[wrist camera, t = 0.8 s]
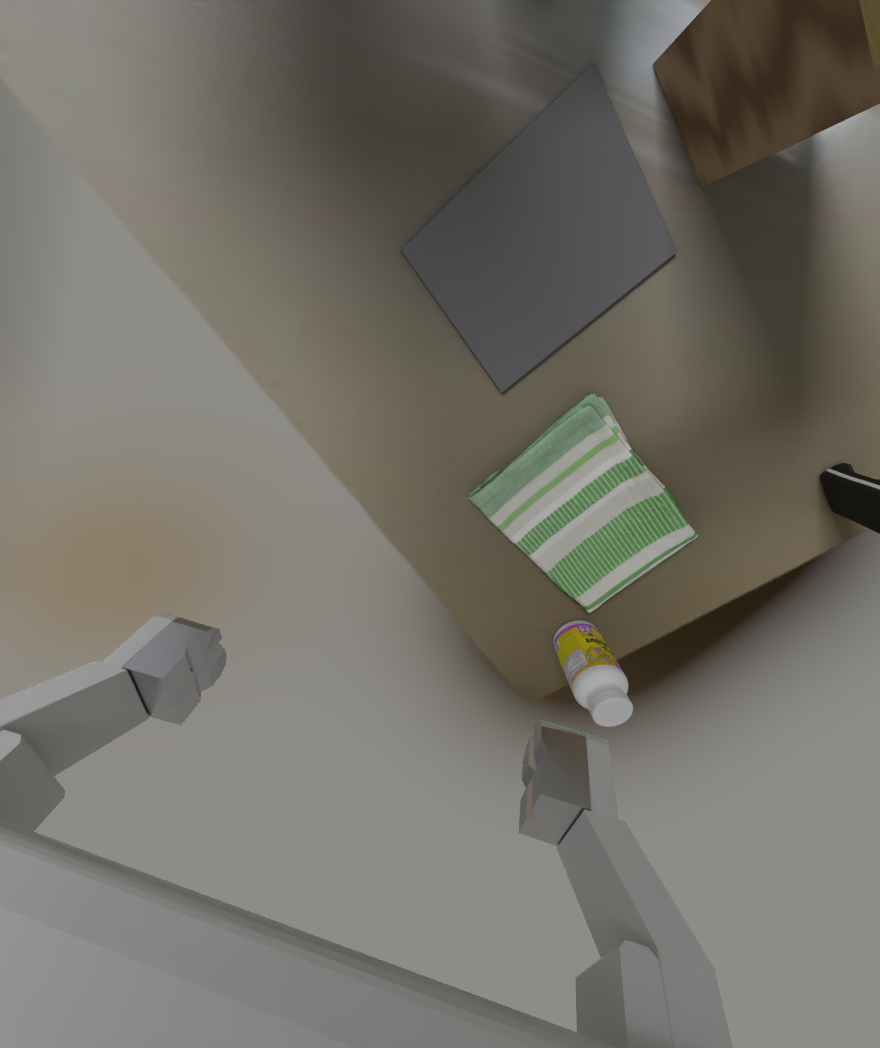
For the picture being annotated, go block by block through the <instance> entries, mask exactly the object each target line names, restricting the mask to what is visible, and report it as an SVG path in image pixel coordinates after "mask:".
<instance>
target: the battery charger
mask: <svg viewBox="0 0 880 1048" xmlns="http://www.w3.org/2000/svg"><path fill="white" fill-rule="evenodd" d="M821 478H822V482H823V485H824V488H825V491H826V493H827V496H828V499H829V502H830V504H831V507H832V509H833V512H834V513H836V514H839V515H841V516H843V517H846V518H848V519H850V520H852V521H854V522H857V523H859V524H861V525H863V526H865V527H867V528H869V529H871V530H873V531H875V532H877V533H880V480H876V479H873V478H870V477H866V476H863V475H860V474H857V473H854V471H853V468H852V466H851V465H850V464H847V463H841V464H838V465H836V466H834V467H832V468H830V469H827V470H825V472H823V473H822V474H821Z"/></svg>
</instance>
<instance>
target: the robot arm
mask: <svg viewBox="0 0 880 1048" xmlns="http://www.w3.org/2000/svg"><path fill="white" fill-rule="evenodd" d="M221 639H222V636H221V633H220V630H219V629H217V628H214V627H211V626H207V625H204V624H200V623H197V622H194V621H190V620H187V619H183V618H181V617H177V616H174V615H170V614H167V613H163V612H162V613H160V614H158V615H155V616H154V617H152V618H151V619H150V620H149V621H148V622H147V623H146V624H145V625H144V626H142V627H141V628H140V629H139V630H138V631H136V632H135V633H134V634H133V635H132V636H131V637H130V638H129V639H127V640H126V641H125V642H124V643H123V644H122V645H121V646H119V647H118V648H117V649H116V650H115V651H114V652H113V653H112V654H110V655H109V656H108V657H107V658H106V659H105V660H104V661H102V662H101V661H94V662H91V663H89V664H86V665H84V666H81V667H79V668H77V669H74V670H72V671H69V672H67V673H65V674H62V675H59V676H57V677H54V678H52V679H49V680H47V681H44V682H42V683H40V684H37V685H34V686H32V687H29V688H27V689H24V690H22V691H19V692H17V693H14V694H12V695H10V696H7V697H5V698H2V699H0V1048H733V1047H732V1043H731V1039H730V1034H729V1030H728V1026H727V1021H726V1017H725V1012H724V1008H723V1004H722V1000H721V995H720V991H719V986H718V982H717V978H716V973H715V969H714V967H713V965H712V963H711V962H710V960H709V958H708V957H707V955H706V954H705V952H704V950H703V948H702V947H701V945H700V943H699V942H698V940H697V939H696V937H695V936H694V934H693V932H692V930H691V929H690V927H689V926H688V924H687V922H686V921H685V919H684V917H683V916H682V914H681V912H680V911H679V909H678V908H677V906H676V904H675V903H674V901H673V899H672V898H671V896H670V894H669V893H668V891H667V890H666V888H665V886H664V884H663V883H662V881H661V879H660V878H659V876H658V875H657V873H656V871H655V870H654V868H653V866H652V865H651V863H650V861H649V860H648V858H647V856H646V855H645V853H644V852H643V850H642V848H641V847H640V845H639V843H638V842H637V840H636V839H635V837H634V835H633V834H632V832H631V830H630V829H629V827H628V825H627V824H626V822H624V821H621V820H618V812H617V804H616V797H615V788H614V780H613V773H612V764H611V756H610V747H609V743H608V741H607V739H606V738H604V737H601V736H597V735H593V734H589V733H586V732H582V731H581V730H577V729H574V728H570V727H566V726H562V725H559V724H555V723H550V722H547V721H543V720H539V721H538V722H537V724H536V726H535V733H534V737H531V738H530V739H529V742H528V744H527V747H526V751H525V755H524V761H523V771H522V780H523V783H524V785H525V786H526V790H525V792H524V794H523V796H522V798H521V803H520V822H519V833H521V834H524V835H527V836H530V837H532V838H536V839H538V840H541V841H544V842H547V843H550V844H553V845H556V846H558V847H557V850H558V853H559V855H560V858H561V860H562V863H563V865H564V868H565V870H566V873H567V875H568V878H569V880H570V882H571V885H572V888H573V890H574V892H575V895H576V897H577V900H578V902H579V905H580V907H581V910H582V912H583V915H584V917H585V919H586V922H587V925H588V927H589V929H590V932H591V934H592V937H593V939H594V942H595V944H596V947H597V949H598V952H599V954H600V956H601V958H600V959H599V960H598V961H596V962H595V963H594V964H592V965H591V966H589V967H588V968H587V969H585V971H583V972H582V973H581V974H580V975H579V976H577V977H576V1012H577V1013H576V1014H577V1032H574V1031H572V1030H569V1029H566V1028H564V1027H561V1026H558V1025H555V1024H553V1023H550V1022H547V1021H545V1020H542V1019H539V1018H537V1017H534V1016H531V1015H528V1014H526V1013H523V1012H520V1011H517V1010H515V1009H512V1008H509V1007H507V1006H504V1005H501V1004H498V1003H496V1002H493V1001H490V1000H488V999H485V998H482V997H479V996H477V995H474V994H472V993H469V992H466V991H463V990H460V989H458V988H455V987H453V986H450V985H447V984H444V983H442V982H439V981H436V980H434V979H431V978H428V977H425V976H423V975H420V974H417V973H415V972H412V971H409V970H407V969H404V968H401V967H398V966H396V965H393V964H390V963H388V962H385V961H382V960H379V959H377V958H374V957H371V956H368V955H366V954H363V953H360V952H358V951H355V950H352V949H350V948H346V947H344V946H342V945H339V944H336V943H333V942H331V941H328V940H325V939H322V938H320V937H317V936H314V935H311V934H309V933H306V932H304V931H301V930H298V929H295V928H293V927H290V926H287V925H285V924H282V923H279V922H277V921H274V920H271V919H268V918H266V917H263V916H260V915H258V914H255V913H252V912H249V911H247V910H244V909H241V908H239V907H236V906H233V905H230V904H228V903H225V902H222V901H220V900H217V899H214V898H212V897H209V896H206V895H203V894H201V893H198V892H195V891H193V890H190V889H187V888H184V887H182V886H179V885H176V884H173V883H171V882H168V881H166V880H163V879H160V878H157V877H155V876H152V875H149V874H146V873H144V872H141V871H138V870H136V869H133V868H130V867H127V866H125V865H122V864H119V863H117V862H114V861H111V860H109V859H106V858H103V857H100V856H97V855H95V854H92V853H90V852H87V851H84V850H82V849H79V848H76V847H73V846H70V845H68V844H65V843H62V842H60V841H57V840H54V839H52V838H49V837H46V836H44V835H41V834H38V833H36V832H34V831H35V829H36V828H37V827H38V826H39V825H40V824H41V823H42V821H43V820H44V819H45V818H46V817H47V816H48V815H49V814H50V812H51V811H52V810H53V809H54V808H55V807H56V806H57V805H58V804H59V802H60V801H61V800H62V799H63V798H64V794H65V790H64V788H63V787H62V786H61V785H60V783H59V782H58V781H57V780H56V778H55V777H54V776H55V775H57V774H59V773H60V772H62V771H63V770H65V769H67V768H68V767H70V766H72V765H73V764H75V763H76V762H78V761H80V760H82V759H83V758H85V757H86V756H88V755H90V754H91V753H93V752H95V751H96V750H98V749H99V748H101V747H103V746H104V745H106V744H108V743H109V742H111V741H113V740H114V739H116V738H118V737H119V736H121V735H123V734H124V733H126V732H127V731H129V730H131V729H132V728H134V727H136V726H137V725H139V724H141V723H142V722H144V721H145V720H147V719H148V718H149V717H148V716H151V717H154V718H157V719H161V720H164V721H168V722H172V723H175V724H178V725H181V724H182V723H183V722H184V721H185V719H186V718H187V717H188V716H189V714H190V713H191V712H192V711H193V710H194V708H195V707H196V706H197V705H198V703H199V702H200V697H201V691H203V690H205V689H207V688H209V687H211V686H213V685H214V683H215V682H216V681H217V679H218V678H219V677H220V675H221V673H222V671H223V669H224V666H225V664H226V653H225V649H224V648H223V647H222V646H221V645H220V644H219V641H220V640H221Z"/></svg>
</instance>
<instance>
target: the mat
mask: <svg viewBox="0 0 880 1048" xmlns="http://www.w3.org/2000/svg"><path fill="white" fill-rule="evenodd" d="M401 251H402V253H403V254H404V256H405V257H406V258H407V260H408V261H409V263H410V264H411V266H412V267H413V268H414V270H415V271H416V273H417V274H418V275H419V277H420V278H421V280H422V281H423V283H424V284H425V285H426V287H427V288H428V290H429V291H430V292H431V294H432V295H433V297H434V298H435V299H436V301H437V302H438V304H439V305H440V307H441V308H442V309H443V311H444V312H445V314H446V315H447V316H448V318H449V319H450V321H451V322H452V324H453V325H454V326H455V328H456V329H457V331H458V332H459V333H460V335H461V336H462V338H463V339H464V340H465V342H466V343H467V345H468V346H469V348H470V349H471V350H472V352H473V353H474V355H475V356H476V357H477V359H478V360H479V362H480V363H481V365H482V366H483V367H484V369H485V370H486V372H487V373H488V374H489V376H490V377H491V379H492V380H493V381H494V383H495V384H496V386H497V387H498V389H499V390H500V391H501V393H502V392H503V391H504V390H506V389H507V388H508V387H509V386H511V385H512V384H513V383H514V382H516V381H517V380H518V379H519V378H521V377H522V376H523V375H524V374H526V373H527V372H528V371H529V370H531V369H532V368H533V367H534V366H536V365H537V364H538V363H539V362H541V361H542V360H543V359H544V358H546V357H547V356H548V355H549V354H551V353H552V352H553V351H554V350H555V349H557V348H558V347H559V346H560V345H562V344H563V343H564V342H565V341H567V340H568V339H569V338H570V337H572V336H573V335H574V334H575V333H577V332H578V331H579V330H580V329H582V328H583V327H584V326H585V325H587V324H588V323H589V322H590V321H592V320H593V319H594V318H595V317H597V316H598V315H599V314H600V313H602V312H603V311H604V310H605V309H607V308H608V307H609V306H610V305H612V304H613V303H614V302H615V301H616V300H618V299H619V298H620V297H621V296H623V295H624V294H625V293H626V292H628V291H629V290H630V289H631V288H633V287H634V286H635V285H636V284H638V283H639V282H640V281H641V280H643V279H644V278H645V277H646V276H648V275H649V274H650V273H651V272H653V271H654V270H655V269H656V268H658V267H659V266H660V265H661V264H663V263H664V262H665V261H666V260H668V259H669V258H670V257H671V256H672V255H674V254H675V253H676V252H677V250H676V248H675V245H674V243H673V241H672V239H671V236H670V234H669V232H668V230H667V228H666V225H665V223H664V221H663V219H662V216H661V214H660V212H659V210H658V207H657V205H656V203H655V201H654V198H653V196H652V194H651V192H650V189H649V187H648V185H647V183H646V180H645V178H644V176H643V174H642V171H641V169H640V167H639V165H638V162H637V160H636V158H635V156H634V153H633V151H632V149H631V147H630V144H629V142H628V140H627V138H626V135H625V133H624V131H623V129H622V126H621V124H620V122H619V120H618V118H617V115H616V113H615V111H614V109H613V106H612V104H611V102H610V100H609V97H608V95H607V93H606V91H605V88H604V86H603V84H602V82H601V79H600V77H599V75H598V73H597V70H596V68H595V66H594V64H593V63H592V64H591V65H590V66H589V67H588V68H587V69H586V70H585V71H584V72H583V73H582V74H581V75H580V76H579V77H578V78H577V79H576V80H574V81H573V82H572V83H571V84H570V85H569V86H568V87H567V88H566V89H565V90H564V91H563V92H562V93H561V94H560V95H559V96H558V97H557V98H556V99H555V100H554V101H553V102H552V103H551V104H550V105H549V106H548V107H547V108H546V109H545V110H544V111H543V112H542V113H541V114H539V115H538V116H537V117H536V118H535V119H534V120H533V121H532V122H531V123H530V124H529V125H528V126H527V127H526V128H525V129H524V130H523V131H522V132H521V133H520V134H519V135H518V136H517V137H516V138H515V139H514V140H513V141H512V142H511V143H510V144H509V145H508V146H507V147H506V148H504V149H503V150H502V151H501V152H500V153H499V154H498V155H497V156H496V157H495V158H494V159H493V160H492V161H491V162H490V163H489V164H488V165H487V166H486V167H485V168H484V169H483V170H482V171H481V172H480V173H479V174H478V175H477V176H476V177H475V178H474V179H473V180H472V181H471V182H469V183H468V184H467V185H466V186H465V187H464V188H463V189H462V190H461V191H460V192H459V193H458V194H457V195H456V196H455V197H454V198H453V199H452V200H451V201H450V202H449V203H448V204H447V205H446V206H445V207H444V208H443V209H442V210H441V211H440V212H439V213H438V214H437V215H436V216H434V217H433V218H432V219H431V220H430V221H429V222H428V223H427V224H426V225H425V226H424V227H423V228H422V229H421V230H420V231H419V232H418V233H417V234H416V235H415V236H414V237H413V238H412V239H411V240H410V241H409V242H408V243H407V244H406V245H405V246H404V247H403V248H402V249H401Z"/></svg>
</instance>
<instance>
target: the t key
mask: <svg viewBox="0 0 880 1048" xmlns="http://www.w3.org/2000/svg"><path fill="white" fill-rule="evenodd" d="M859 2H860V6H861V11H862V15H863V20H864V25H865V29H866V34H867V38H868V43H869V47H870V52H871V56H872V61H873V65H874V67H876V66H878V65H880V0H859Z"/></svg>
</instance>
